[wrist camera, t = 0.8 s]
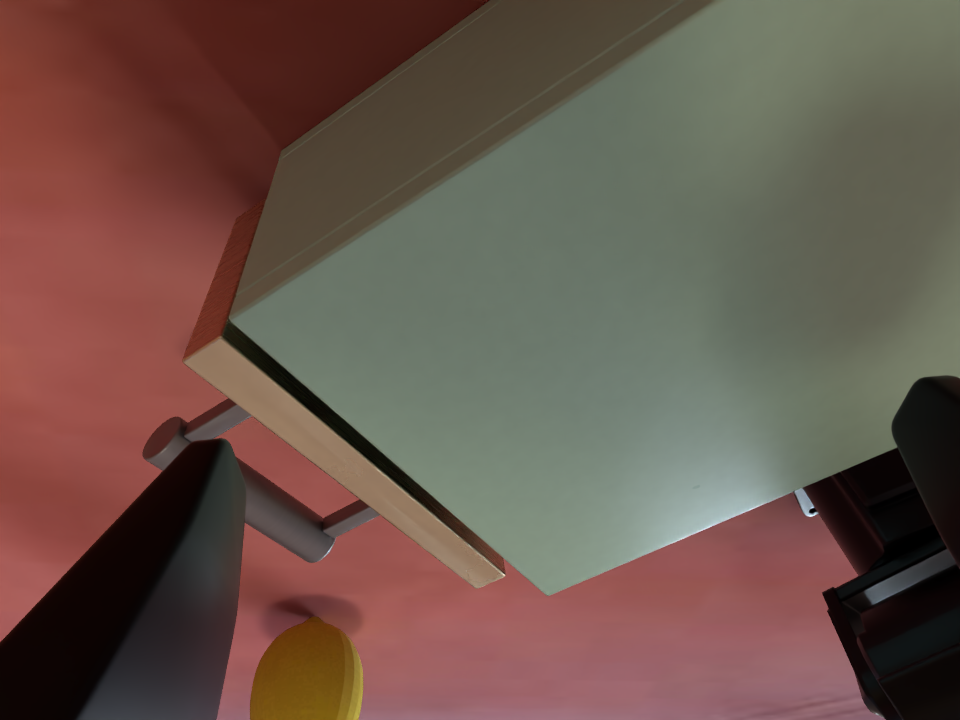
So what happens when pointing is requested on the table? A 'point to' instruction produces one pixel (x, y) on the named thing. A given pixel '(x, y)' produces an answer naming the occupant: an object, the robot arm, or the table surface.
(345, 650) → the lemon
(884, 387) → the pale green box
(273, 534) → the drawer
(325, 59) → the table surface
